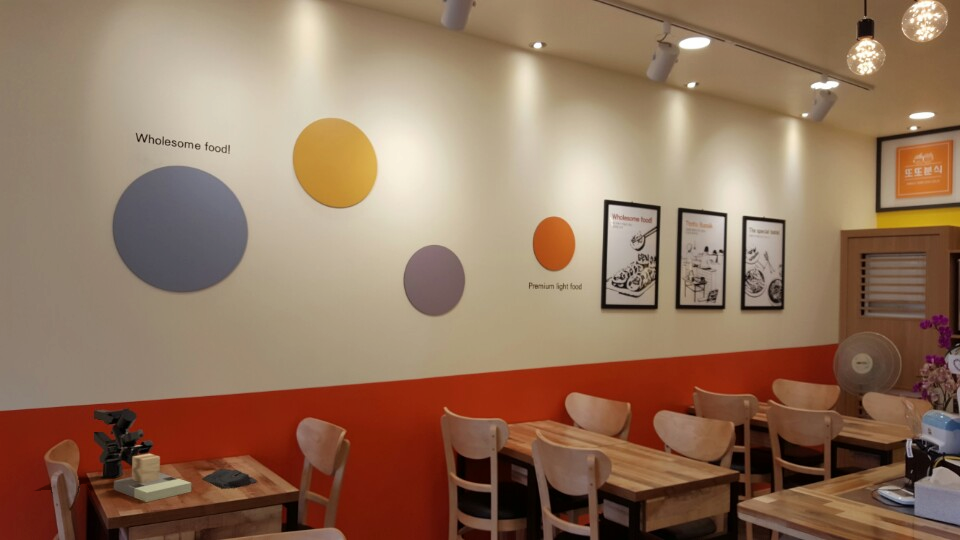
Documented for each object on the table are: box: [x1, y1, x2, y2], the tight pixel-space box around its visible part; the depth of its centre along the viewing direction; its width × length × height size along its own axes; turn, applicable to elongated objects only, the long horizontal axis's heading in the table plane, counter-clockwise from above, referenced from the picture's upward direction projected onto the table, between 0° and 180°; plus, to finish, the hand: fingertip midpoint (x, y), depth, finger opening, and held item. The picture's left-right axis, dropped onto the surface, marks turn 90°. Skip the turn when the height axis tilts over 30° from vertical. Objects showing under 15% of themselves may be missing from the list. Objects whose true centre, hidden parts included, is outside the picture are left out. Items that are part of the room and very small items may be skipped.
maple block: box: [131, 453, 161, 483], centre depth 283 cm, size 8×7×9 cm
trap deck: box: [113, 471, 192, 503], centre depth 280 cm, size 25×18×4 cm
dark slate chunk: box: [202, 468, 258, 490], centre depth 296 cm, size 15×22×5 cm
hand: (135, 467), depth 288 cm, fingers closed
